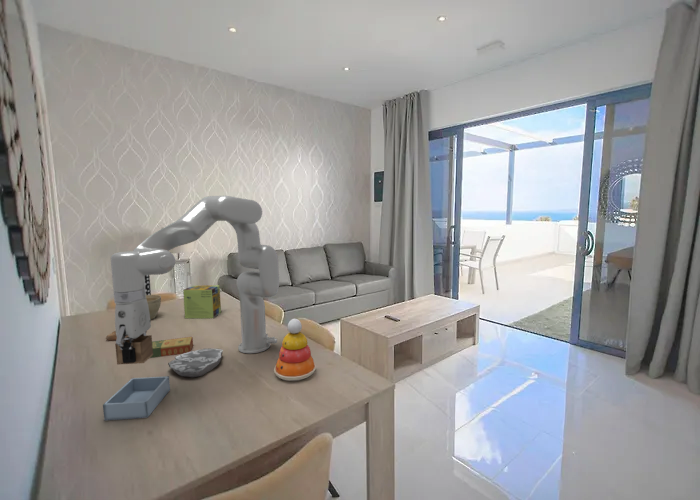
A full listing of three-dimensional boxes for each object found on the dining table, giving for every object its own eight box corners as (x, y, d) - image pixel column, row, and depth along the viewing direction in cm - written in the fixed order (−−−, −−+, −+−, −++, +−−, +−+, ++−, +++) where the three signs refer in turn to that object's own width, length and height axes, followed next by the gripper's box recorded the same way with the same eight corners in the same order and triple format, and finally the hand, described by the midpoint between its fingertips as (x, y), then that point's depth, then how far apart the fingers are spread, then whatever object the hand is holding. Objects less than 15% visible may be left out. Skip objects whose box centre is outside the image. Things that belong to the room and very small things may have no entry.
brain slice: (186, 355, 132) (186, 348, 132) (229, 355, 132) (229, 348, 132) (156, 380, 113) (155, 372, 113) (207, 381, 112) (206, 372, 112)
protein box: (213, 318, 177) (212, 289, 175) (184, 318, 177) (182, 289, 175) (221, 312, 187) (220, 285, 185) (193, 312, 187) (192, 285, 186)
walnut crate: (153, 354, 100) (151, 335, 100) (143, 363, 95) (142, 342, 94) (127, 356, 100) (126, 336, 99) (117, 364, 94) (115, 343, 94)
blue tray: (170, 389, 107) (169, 376, 106) (147, 417, 92) (146, 402, 92) (133, 391, 106) (131, 378, 105) (104, 420, 91) (102, 404, 91)
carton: (190, 353, 134) (190, 343, 134) (144, 359, 129) (143, 349, 129) (193, 345, 142) (192, 335, 142) (149, 351, 137) (149, 340, 137)
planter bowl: (153, 312, 188) (152, 293, 187) (168, 317, 179) (166, 297, 178) (121, 320, 176) (119, 299, 174) (134, 326, 166) (132, 304, 165)
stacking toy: (270, 368, 121) (268, 315, 118) (309, 361, 126) (308, 310, 124) (278, 387, 108) (276, 327, 105) (321, 378, 113) (320, 321, 111)
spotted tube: (131, 308, 196) (128, 274, 194) (142, 304, 205) (140, 271, 202) (144, 309, 195) (141, 274, 193) (155, 305, 203) (152, 272, 201)
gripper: (127, 303, 87) (133, 370, 89) (158, 288, 104) (162, 345, 106) (96, 304, 86) (102, 372, 88) (132, 289, 103) (137, 346, 105)
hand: (135, 356), depth 97 cm, fingers closed on walnut crate, 5 cm apart
